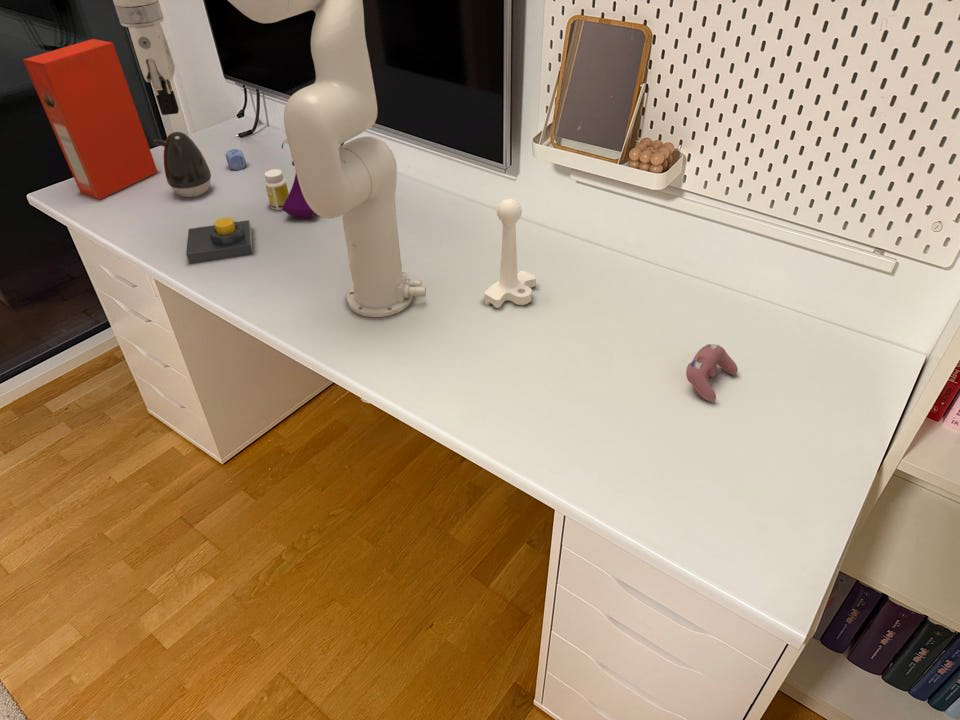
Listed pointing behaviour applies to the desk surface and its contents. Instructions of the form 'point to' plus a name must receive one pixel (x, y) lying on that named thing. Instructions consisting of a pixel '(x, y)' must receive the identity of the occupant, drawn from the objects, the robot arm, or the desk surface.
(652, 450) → the desk surface
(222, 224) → the button
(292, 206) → the perfume bottle
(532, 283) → the joystick
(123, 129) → the file binder
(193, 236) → the console
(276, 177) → the supplement bottle
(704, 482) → the desk surface
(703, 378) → the video game controller
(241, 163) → the decorative dice
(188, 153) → the pump dispenser
